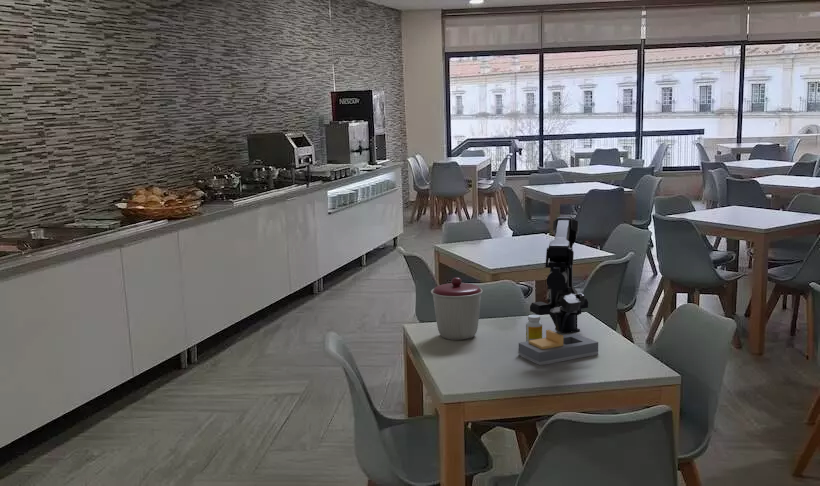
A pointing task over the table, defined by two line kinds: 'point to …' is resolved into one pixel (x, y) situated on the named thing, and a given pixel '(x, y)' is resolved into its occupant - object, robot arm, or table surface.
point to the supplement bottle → (533, 328)
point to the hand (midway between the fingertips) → (559, 331)
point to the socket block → (560, 350)
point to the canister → (457, 309)
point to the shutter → (548, 340)
